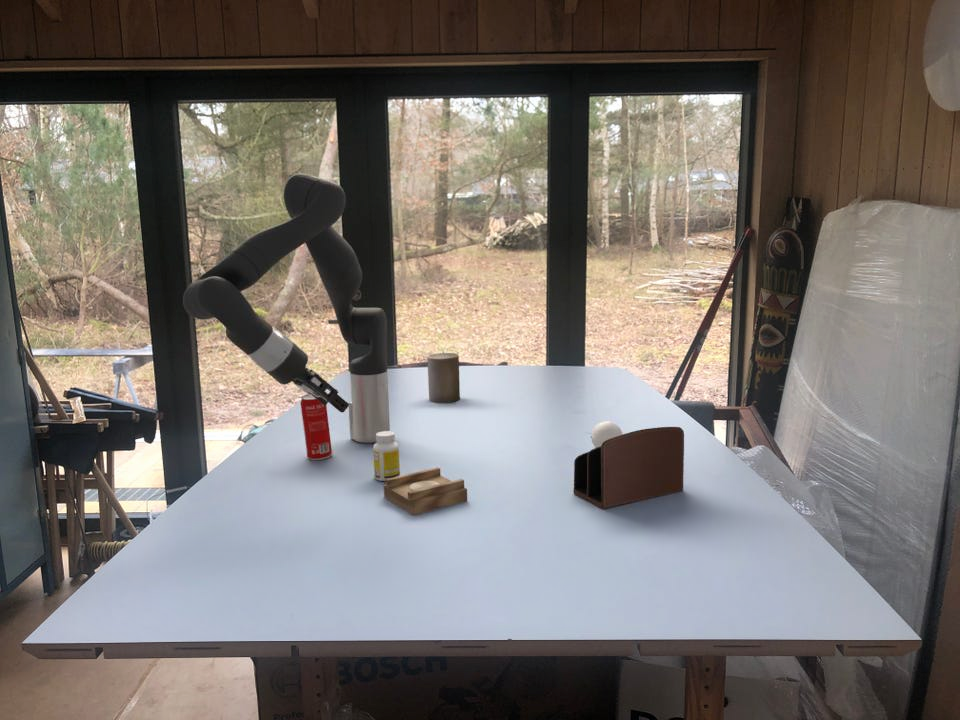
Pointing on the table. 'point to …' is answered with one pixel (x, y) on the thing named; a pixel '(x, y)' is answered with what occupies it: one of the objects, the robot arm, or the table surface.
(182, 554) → the table surface
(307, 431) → the beverage can
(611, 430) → the white egg shape
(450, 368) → the pillar candle
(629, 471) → the letter holder
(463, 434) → the table surface
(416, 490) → the display plinth
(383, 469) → the supplement bottle
